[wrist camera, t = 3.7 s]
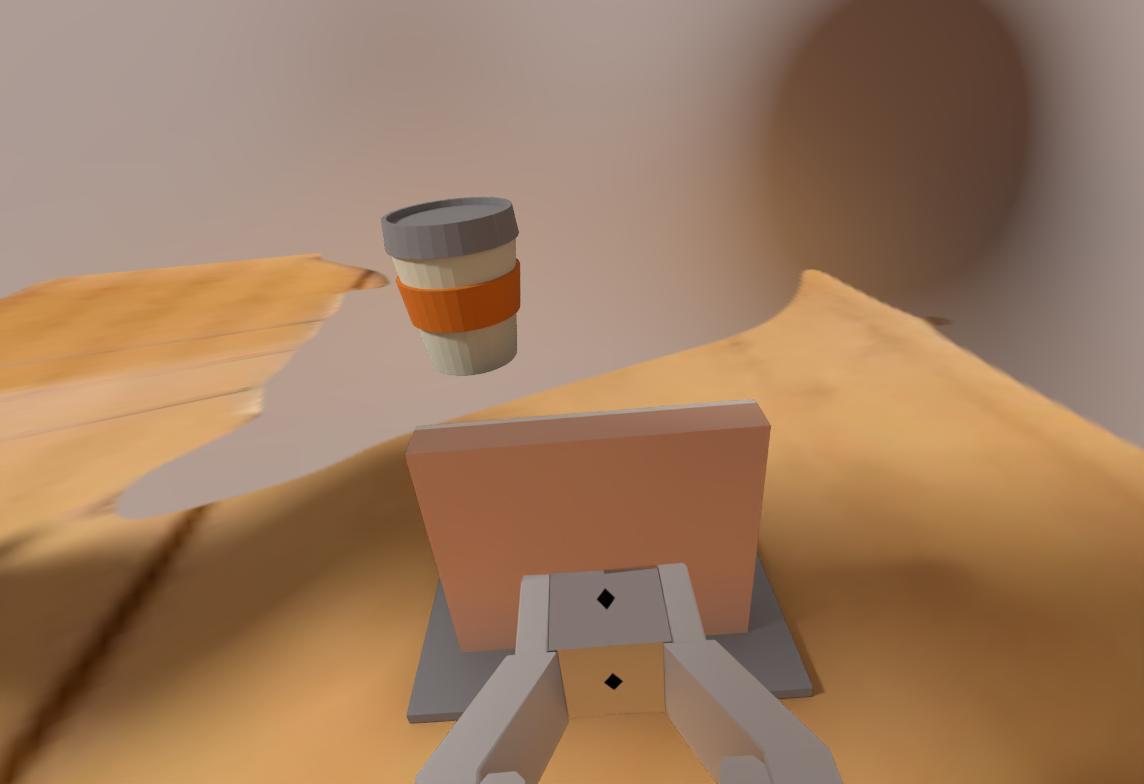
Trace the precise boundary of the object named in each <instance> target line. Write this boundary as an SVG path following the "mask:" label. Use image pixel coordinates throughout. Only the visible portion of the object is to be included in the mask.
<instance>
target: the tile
mask: <svg viewBox="0 0 1144 784" xmlns="http://www.w3.org/2000/svg"><path fill="white" fill-rule="evenodd" d="M770 429H771V425H770V423H769V422H768V420H767V418H766V417H765V415H764V413H763V412H762V410H761V408H760V407H759V405H758V403H757V402H756V400H755V399H747V400H735V401H722V402H710V403H697V404H685V405H673V406H660V407H648V408H635V409H623V410H611V411H598V412H586V413H573V414H561V415H549V416H536V417H524V418H511V419H499V420H487V421H474V422H462V423H449V424H437V425H425V426H416V429H415V431H414V433H413V436H412V438H411V440H410V443H409V445H408V448H407V450H406V452H405V458H406V461H407V465H408V468H409V472H410V475H411V479H412V482H413V486H414V489H415V493H416V496H417V500H418V503H419V507H420V510H421V514H422V517H423V521H424V524H425V527H426V531H427V534H428V538H429V541H430V545H431V548H432V552H433V555H434V559H435V562H436V566H437V569H438V573H439V576H440V580H441V583H442V587H443V590H444V594H445V597H446V601H447V604H448V608H449V611H450V615H451V618H452V622H453V625H454V629H455V632H456V636H457V639H458V643H459V646H460V650H461V653H463V652H477V651H492V650H506V649H516V638H517V626H518V614H519V602H520V590H521V582H522V579H523V576H524V575H541V574H551V573H568V572H586V571H604V570H607V569H618V568H629V567H639V566H650V565H656V566H657V565H664V564H675V563H684V564H685V565H686V566H687V569H688V573H689V576H690V580H691V584H692V588H693V592H694V595H695V599H696V603H697V607H698V611H699V614H700V618H701V622H702V626H703V630H704V633H705V636H706V635H720V634H734V633H748V625H749V616H750V607H751V598H752V589H753V580H754V571H755V562H756V553H757V545H758V536H759V527H760V518H761V509H762V500H763V491H764V482H765V474H766V465H767V456H768V447H769V438H770Z"/></svg>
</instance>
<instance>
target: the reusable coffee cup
mask: <svg viewBox="0 0 1144 784" xmlns="http://www.w3.org/2000/svg"><path fill="white" fill-rule="evenodd" d="M381 223H382V230H383V237H384V244H385V251H386V252H387V254H389V255H391V257H392V260H393V262H394V265H395V268H396V270H397V273H398V276H397V278H396V282H397V285H398V288H399V290H400V293H401V295H402V298H403V301H404V303H405V306H406V308H407V311H408V313H409V316H410V319H411V321H412V323H413V325H414V326H415V327H417V328H419V330H420V333H421V335H422V338H423V341H424V343H425V346H426V349H427V351H428V354H429V357H430V359H431V362H432V364H433V366H434V368H435V369H436V370H437V371H439V372H441V373H444V374H448V375H456V376H467V375H476V374H481V373H486V372H489V371H492V370H495V369H498V368H500V367H502V366H504V365H506V364H507V363H509V362H510V361H511V360H512V359H513V358H514V357H515V355H516V353H517V328H516V327H517V324H516V313H517V311H518V310H519V308H520V262H519V260H518V259H516V237H517V236H518V233H519V231H518V227H517V223H516V219H515V214H514V210H513V206H512V203H511V201H509V200H507V199H502V198H494V197H471V198H457V199H447V200H440V201H433V202H427V203H422V204H417V205H413V206H409V207H405V208H402V209H398V210H396V211H393V212H390V213H388V214H386V215H385V216H384V217H382V219H381Z"/></svg>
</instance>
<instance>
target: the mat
mask: <svg viewBox="0 0 1144 784" xmlns="http://www.w3.org/2000/svg"><path fill="white" fill-rule="evenodd" d="M705 637H706V640H716V641H717V642H718V643H719V644H720V645H721V646H722V647H723V648H724V649H725V650H726V651H727V652H728V653H729V654H730V655H732V656H733V657H734V658H735V659H736V660H737V661H738V662H739V663H740V664H741V665H742V666H743V667H744V668H745V669H746V670H747V671H748V672H749V673H751V674H752V675H753V676H754V677H755V678H756V679H757V680H758V681H759V682H760V683H761V684H762V685H763V686H764V687H765V688H766V689H767V690H768V691H770V692H771V693H772V694H773V695H774V696H775V697H776V698H777V699H780V698H795V697H810V696H812V692H813V686H812V684H811V681H810V679H809V676H808V674H807V672H806V669H805V667H804V664H803V662H802V660H801V657H800V655H799V652H798V650H797V648H796V645H795V643H794V640H793V638H792V636H791V633H790V631H789V628H788V626H787V624H786V621H785V619H784V616H783V614H782V611H781V609H780V607H779V604H778V602H777V599H776V597H775V595H774V592H773V590H772V587H771V585H770V583H769V580H768V578H767V575H766V573H765V571H764V568H763V566H762V563H761V561H760V559H759V556H758V554H757V553H756V562H755V571H754V580H753V589H752V598H751V607H750V616H749V625H748V633H734V634H720V635H706V636H705ZM515 650H516V649H506V650H492V651H477V652H463V653H461V650H460V646H459V643H458V639H457V636H456V632H455V629H454V625H453V622H452V618H451V615H450V611H449V608H448V604H447V601H446V597H445V594H444V590H443V587H442V583H441V580H440V579H439V583H438V588H437V592H436V596H435V600H434V604H433V608H432V612H431V616H430V621H429V625H428V629H427V633H426V637H425V641H424V645H423V649H422V654H421V658H420V662H419V666H418V670H417V674H416V678H415V683H414V687H413V691H412V695H411V699H410V703H409V707H408V711H407V718H408V721H409V723H421V722H436V721H451V720H459V718H460V717H461V716H462V714H463V713H464V712H465V710H466V709H467V708H468V706H469V705H470V704H471V702H472V701H473V700H474V698H475V697H476V696H477V695H478V693H479V692H480V691H481V689H482V688H483V687H484V685H485V684H486V683H487V681H488V680H489V679H490V677H491V676H492V675H493V673H494V672H495V671H496V669H497V668H498V667H499V665H500V664H501V663H502V661H503V660H504V659H505V657H506V656H508V655H515Z"/></svg>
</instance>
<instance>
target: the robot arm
mask: <svg viewBox="0 0 1144 784" xmlns="http://www.w3.org/2000/svg"><path fill="white" fill-rule="evenodd" d="M616 711H617V713H616ZM651 712H666V716H667V717H668V718H669V720H670V721H671V722H672V724H673V725H674V727H675V728H676V729H677V731H678V732H679V733H680V735H681V736H682V737H683V739H684V740H685V742H686V743H687V744H688V746H689V747H690V748H691V750H692V751H693V752H694V754H695V755H696V756H697V758H698V759H699V761H700V762H701V763H702V765H703V766H704V767H705V769H706V770H707V771H708V773H709V774H710V776H711V777H712V778H713V780H714V781H715V782H716V784H843V781H842V779H841V776H840V774H839V771H838V769H837V767H836V764H835V762H834V759H833V757H832V754H831V752H830V749H829V747H828V746H827V745H825V744H824V743H823V742H822V741H821V740H820V739H819V738H818V737H817V736H816V735H815V734H814V733H813V732H812V731H811V730H810V729H809V728H808V727H806V726H805V725H804V724H803V723H802V722H801V721H800V720H799V719H798V718H797V717H796V716H795V715H794V714H793V713H792V712H791V711H790V710H789V709H787V708H786V707H785V706H784V705H783V704H782V703H781V702H780V701H779V700H778V699H777V698H776V697H775V696H774V695H773V694H772V693H771V692H770V691H768V690H767V689H766V688H765V687H764V686H763V685H762V684H761V683H760V682H759V681H758V680H757V679H756V678H755V677H754V676H753V675H752V674H751V673H749V672H748V671H747V670H746V669H745V668H744V667H743V666H742V665H741V664H740V663H739V662H738V661H737V660H736V659H735V658H734V657H733V656H732V655H730V654H729V653H728V652H727V651H726V650H725V649H724V648H723V647H722V646H721V645H720V644H719V643H718V642H717V641H716V640H706V637H705V633H704V630H703V626H702V622H701V618H700V614H699V611H698V607H697V603H696V599H695V595H694V592H693V588H692V584H691V580H690V576H689V573H688V569H687V566H686V565H685V564H684V563H675V564H664V565H657V566H656V565H650V566H639V567H629V568H618V569H607V570H604V571H586V572H568V573H551V574H541V575H524V576H523V579H522V582H521V590H520V602H519V614H518V626H517V638H516V650H515V655H508V656H506V657H505V659H504V660H503V661H502V663H501V664H500V665H499V667H498V668H497V669H496V671H495V672H494V673H493V675H492V676H491V677H490V679H489V680H488V681H487V683H486V684H485V685H484V687H483V688H482V689H481V691H480V692H479V693H478V695H477V696H476V697H475V698H474V700H473V701H472V702H471V704H470V705H469V706H468V708H467V709H466V710H465V712H464V713H463V714H462V716H461V717H460V718H459V720H458V721H457V722H456V724H455V725H454V726H453V728H452V729H451V730H450V732H449V733H448V734H447V736H446V737H445V738H444V740H443V741H442V742H441V744H440V745H439V746H438V748H437V749H436V750H435V751H434V753H433V754H432V755H431V757H430V758H429V759H428V761H427V762H426V763H425V765H424V766H423V767H422V769H421V770H420V771H419V773H418V774H417V775H416V780H415V784H538V782H539V780H540V778H541V776H542V774H543V772H544V770H545V768H546V766H547V764H548V763H549V761H550V759H551V757H552V755H553V753H554V751H555V749H556V747H557V745H558V743H559V741H560V739H561V737H562V735H563V733H564V731H565V729H566V727H567V725H568V723H569V721H568V719H573V718H583V717H592V716H602V715H612V714H629V713H651Z"/></svg>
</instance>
